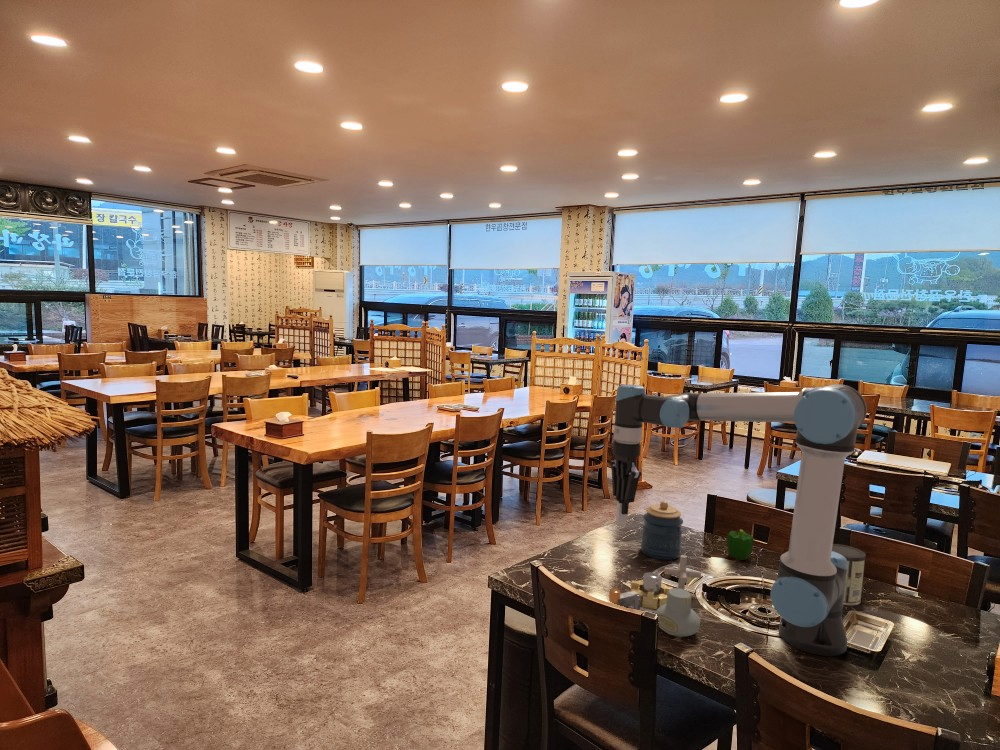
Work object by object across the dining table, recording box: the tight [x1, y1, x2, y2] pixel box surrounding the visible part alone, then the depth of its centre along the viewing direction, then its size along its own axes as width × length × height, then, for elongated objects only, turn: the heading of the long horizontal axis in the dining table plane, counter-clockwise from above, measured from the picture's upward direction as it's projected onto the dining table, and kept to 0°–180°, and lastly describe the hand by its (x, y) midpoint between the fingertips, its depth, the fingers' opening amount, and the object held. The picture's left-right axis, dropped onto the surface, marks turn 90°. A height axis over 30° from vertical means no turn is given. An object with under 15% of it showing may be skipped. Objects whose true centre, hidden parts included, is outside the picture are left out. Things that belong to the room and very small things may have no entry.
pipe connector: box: [663, 554, 702, 590], centre depth 177 cm, size 10×10×10 cm
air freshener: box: [655, 587, 701, 638], centre depth 154 cm, size 11×8×10 cm
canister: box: [640, 500, 684, 561], centre depth 204 cm, size 13×13×18 cm
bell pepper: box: [726, 529, 754, 561], centre depth 204 cm, size 8×8×10 cm
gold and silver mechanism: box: [628, 571, 663, 613], centre depth 165 cm, size 14×21×8 cm, turn 124°
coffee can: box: [832, 543, 867, 606], centre depth 177 cm, size 10×10×14 cm
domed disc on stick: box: [608, 579, 673, 609], centre depth 165 cm, size 20×11×4 cm, turn 118°
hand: (621, 524), depth 171 cm, fingers closed
